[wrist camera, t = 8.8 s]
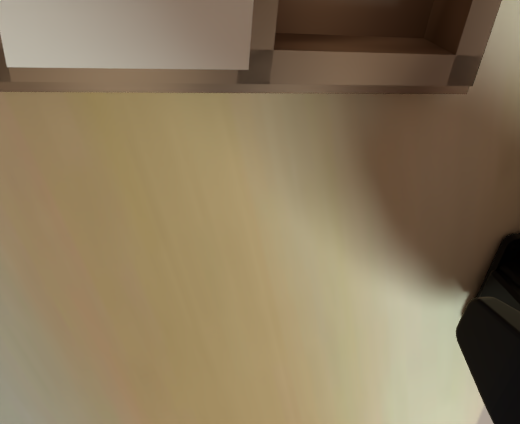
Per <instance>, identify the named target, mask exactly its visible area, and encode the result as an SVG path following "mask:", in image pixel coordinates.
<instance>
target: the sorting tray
mask: <svg viewBox="0 0 520 424" xmlns="http://www.w3.org/2000/svg"><path fill="white" fill-rule="evenodd" d="M501 1H502V0H254V2H253V16H252V29H251V43H250V56H249V70H216V69H122V68H29V67H7V65H6V60H5V55H4V50H3V45H2V40H1V35H0V92H161V93H359V94H467V92H468V89H469V86H473V83H474V80H475V78H476V75H477V72H478V69H479V66H480V63H481V60H482V57H483V54H484V51H485V48H486V45H487V42H488V39H489V36H490V33H491V30H492V27H493V25H494V22H495V19H496V16H497V13H498V10H499V7H500V4H501Z"/></svg>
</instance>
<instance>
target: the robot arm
mask: <svg viewBox="0 0 520 424" xmlns="http://www.w3.org/2000/svg"><path fill="white" fill-rule="evenodd" d="M456 337H457V341H458V344H459V346H460V348H461V351H462V353H463V355H464V358H465V360H466V362H467V365H468V367H469V369H470V372H471V374H472V376H473V379H474V381H475V383H476V386H477V388H478V390H479V393H480V395H481V397H482V400H483V402H484V404H485V406H486V409H487V411H488V413H489V415H490V417H491V419H492V421H493V423H494V424H520V233H519V234H511V235H509V236H507V237H506V238H504V239H503V241H502V242H501V245H500V247H499V249H498V251H497V253H496V256H495V258H494V260H493V262H492V264H491V267H490V269H489V271H488V273H487V275H486V278H485V280H484V282H483V284H482V286H481V289H480V291H479V293H478V295H477V297H476V298H473V299H471V300H470V301H469V302H468V304H467V306H466V308H465V311H464V313H463V315H462V317H461V319H460V321H459V323H458V326H457V328H456Z"/></svg>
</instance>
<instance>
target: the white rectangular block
mask: <svg viewBox="0 0 520 424" xmlns="http://www.w3.org/2000/svg"><path fill="white" fill-rule="evenodd" d="M253 2H254V0H0V35H1V40H2V45H3V50H4V55H5V60H6V65H7V67H29V68H122V69H216V70H249V56H250V43H251V29H252V16H253Z"/></svg>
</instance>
